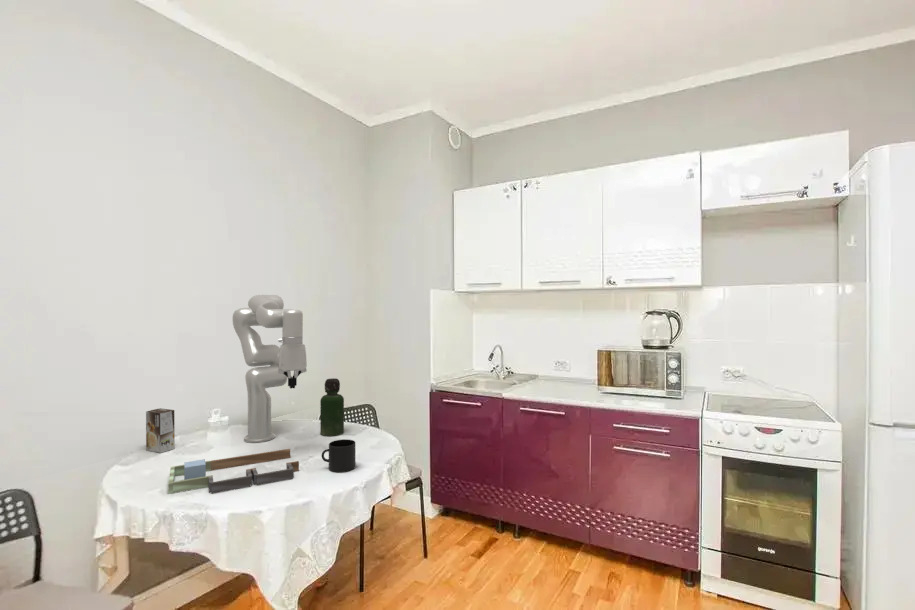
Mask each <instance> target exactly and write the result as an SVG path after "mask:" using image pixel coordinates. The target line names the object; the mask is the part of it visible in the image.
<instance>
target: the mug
mask: <svg viewBox="0 0 915 610" xmlns="http://www.w3.org/2000/svg"><path fill="white" fill-rule="evenodd" d="M326 453H328V459H327V458H326V457H325V454H326ZM321 459H322V460H323V461H324V462H327V463H328V470H329V471H330V472H331V473H333V472H334V473H346V472H350V471H352V470H354V469H355V468H356V441H355V440H352V439H335V440H333V441H330V442H329V443H328V448H326V449H325V450H323V451H322V453H321Z"/></svg>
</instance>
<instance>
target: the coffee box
mask: <svg viewBox="0 0 915 610" xmlns="http://www.w3.org/2000/svg"><path fill="white" fill-rule="evenodd" d="M175 432H176V431H175V409H167V408H155V409H151V410H147V411H145V437H146V438H145V450H146V451H147V452H153V453H158V454H162V453H165V452H168V451H171V450H175V445H176V444H175V436H176V435H175Z"/></svg>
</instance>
